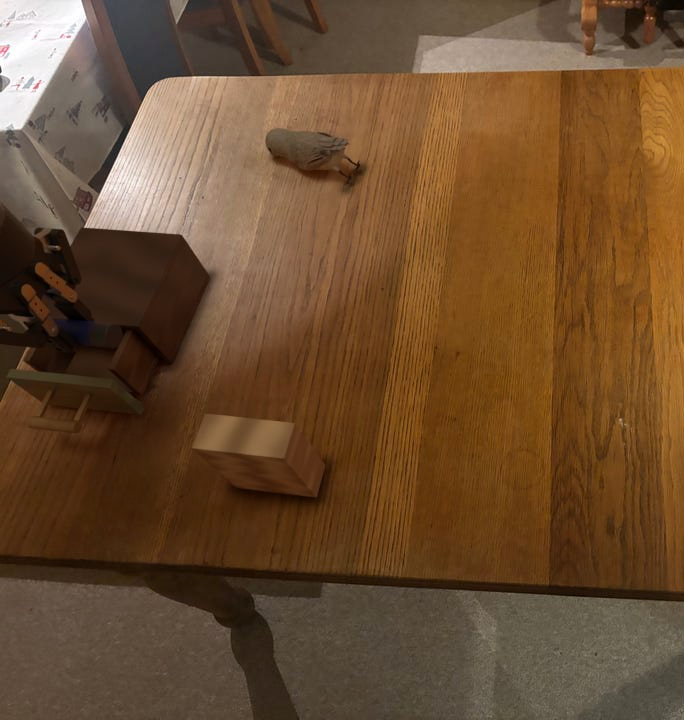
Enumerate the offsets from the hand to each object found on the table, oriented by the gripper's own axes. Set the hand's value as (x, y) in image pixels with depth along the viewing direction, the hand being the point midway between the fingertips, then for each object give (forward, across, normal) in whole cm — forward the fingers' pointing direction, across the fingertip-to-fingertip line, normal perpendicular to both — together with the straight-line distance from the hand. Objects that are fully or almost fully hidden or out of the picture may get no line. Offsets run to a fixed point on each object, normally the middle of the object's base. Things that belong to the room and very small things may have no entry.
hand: (78, 335), depth 70 cm
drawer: (+16, -2, -8) cm, 18 cm away
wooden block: (+17, +7, +19) cm, 26 cm away
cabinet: (+17, -13, -8) cm, 23 cm away
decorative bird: (+17, -44, +9) cm, 48 cm away
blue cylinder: (+1, 0, 0) cm, 1 cm away
